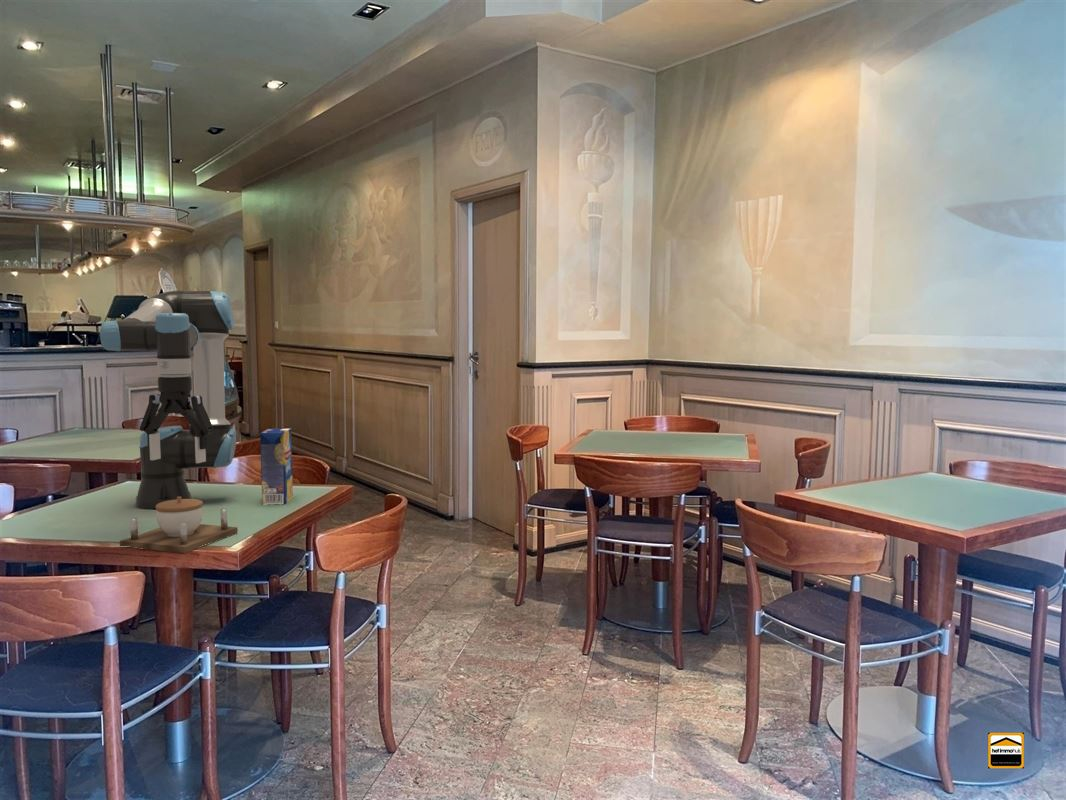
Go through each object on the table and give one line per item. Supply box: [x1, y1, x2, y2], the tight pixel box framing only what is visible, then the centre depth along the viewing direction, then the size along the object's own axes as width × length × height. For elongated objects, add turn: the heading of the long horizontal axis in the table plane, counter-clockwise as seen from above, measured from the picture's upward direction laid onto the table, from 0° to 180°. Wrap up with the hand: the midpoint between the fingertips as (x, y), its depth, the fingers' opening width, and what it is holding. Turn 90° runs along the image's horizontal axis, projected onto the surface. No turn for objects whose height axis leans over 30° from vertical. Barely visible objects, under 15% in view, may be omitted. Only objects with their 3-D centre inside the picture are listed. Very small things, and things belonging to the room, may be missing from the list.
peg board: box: [119, 523, 239, 554], centre depth 189 cm, size 19×19×2 cm
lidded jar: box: [155, 497, 204, 537], centre depth 188 cm, size 11×11×9 cm
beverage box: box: [259, 428, 294, 506], centre depth 232 cm, size 7×11×22 cm, turn 6°
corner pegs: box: [129, 508, 229, 545], centre depth 188 cm, size 16×16×5 cm
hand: (177, 460), depth 187 cm, fingers open, 13 cm apart
